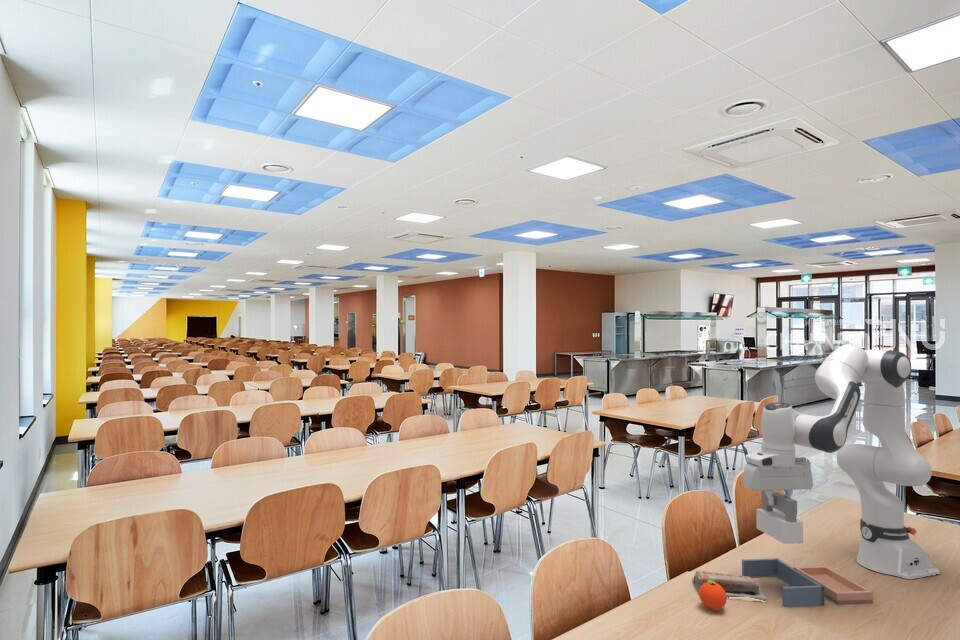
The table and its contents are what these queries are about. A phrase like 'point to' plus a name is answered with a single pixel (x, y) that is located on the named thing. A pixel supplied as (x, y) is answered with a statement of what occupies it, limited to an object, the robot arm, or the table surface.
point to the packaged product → (730, 584)
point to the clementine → (712, 595)
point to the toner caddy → (780, 519)
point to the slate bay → (801, 585)
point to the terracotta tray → (837, 585)
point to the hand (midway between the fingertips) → (778, 504)
